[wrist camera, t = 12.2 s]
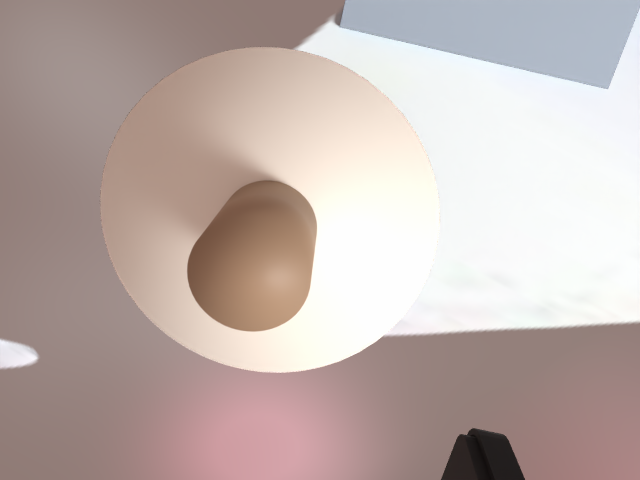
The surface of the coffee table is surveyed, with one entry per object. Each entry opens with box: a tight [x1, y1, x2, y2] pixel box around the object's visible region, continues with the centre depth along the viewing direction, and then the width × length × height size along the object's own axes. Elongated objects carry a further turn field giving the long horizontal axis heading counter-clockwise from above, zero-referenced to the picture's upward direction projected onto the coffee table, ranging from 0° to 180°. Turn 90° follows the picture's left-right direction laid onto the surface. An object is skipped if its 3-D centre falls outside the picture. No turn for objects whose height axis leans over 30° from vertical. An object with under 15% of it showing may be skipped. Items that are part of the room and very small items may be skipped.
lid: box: [100, 47, 440, 373], centre depth 19 cm, size 14×14×6 cm
